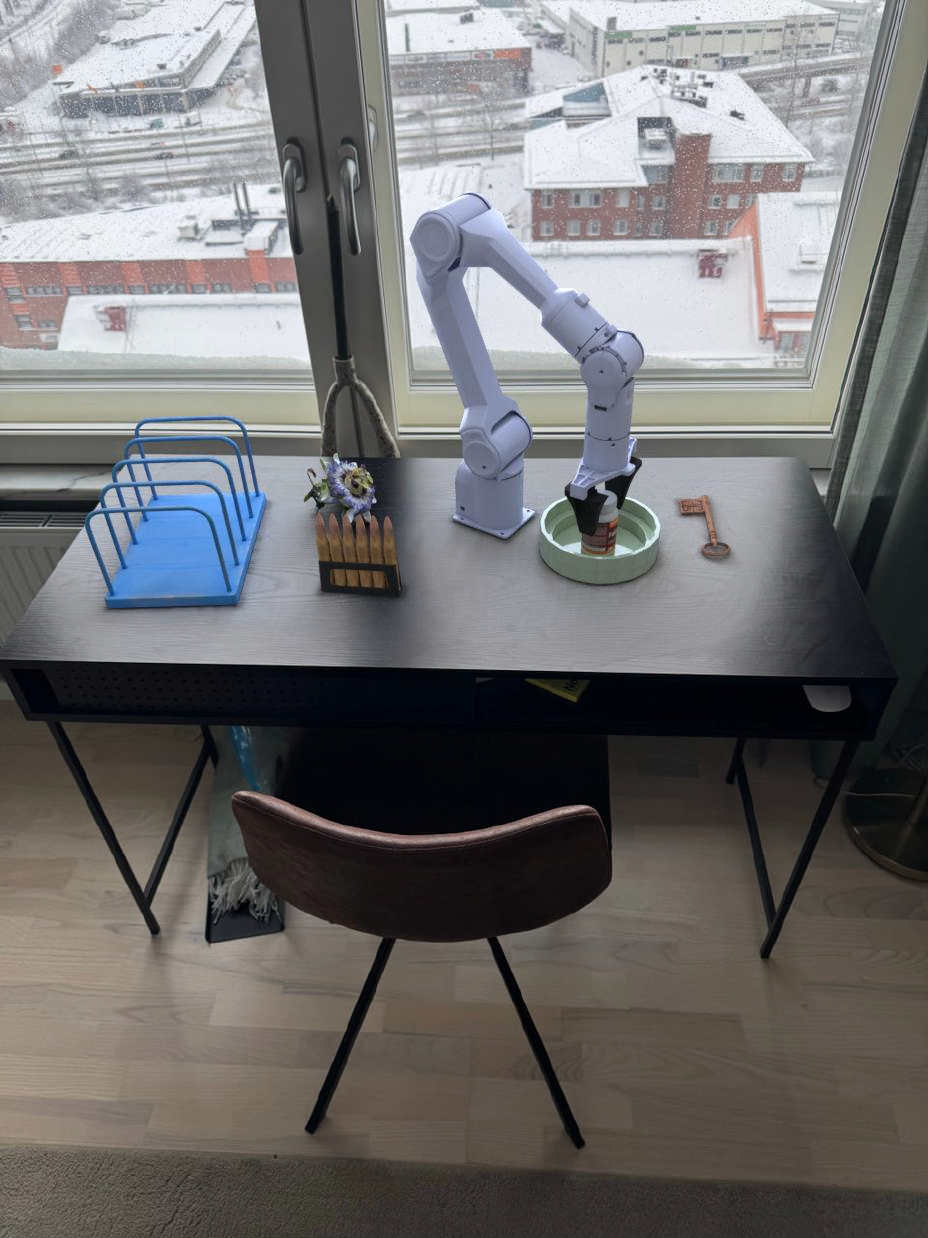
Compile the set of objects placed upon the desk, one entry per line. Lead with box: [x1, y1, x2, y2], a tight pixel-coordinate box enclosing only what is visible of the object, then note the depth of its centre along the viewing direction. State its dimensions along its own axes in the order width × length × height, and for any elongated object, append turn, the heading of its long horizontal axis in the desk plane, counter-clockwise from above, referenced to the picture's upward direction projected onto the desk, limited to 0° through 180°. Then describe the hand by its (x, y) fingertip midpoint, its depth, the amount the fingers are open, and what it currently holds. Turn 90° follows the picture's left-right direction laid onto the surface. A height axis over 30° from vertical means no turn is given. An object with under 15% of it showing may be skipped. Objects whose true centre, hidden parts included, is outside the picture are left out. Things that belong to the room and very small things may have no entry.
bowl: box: [538, 496, 662, 585], centre depth 129 cm, size 16×16×4 cm
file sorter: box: [84, 414, 268, 609], centre depth 127 cm, size 25×17×15 cm
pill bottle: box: [581, 489, 619, 557], centre depth 127 cm, size 5×5×8 cm
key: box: [678, 494, 731, 558], centre depth 133 cm, size 6×1×15 cm
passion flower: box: [303, 453, 377, 526], centre depth 136 cm, size 11×11×12 cm
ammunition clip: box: [315, 512, 403, 597], centre depth 121 cm, size 11×2×12 cm, turn 83°
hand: (600, 519), depth 127 cm, fingers open, 7 cm apart
